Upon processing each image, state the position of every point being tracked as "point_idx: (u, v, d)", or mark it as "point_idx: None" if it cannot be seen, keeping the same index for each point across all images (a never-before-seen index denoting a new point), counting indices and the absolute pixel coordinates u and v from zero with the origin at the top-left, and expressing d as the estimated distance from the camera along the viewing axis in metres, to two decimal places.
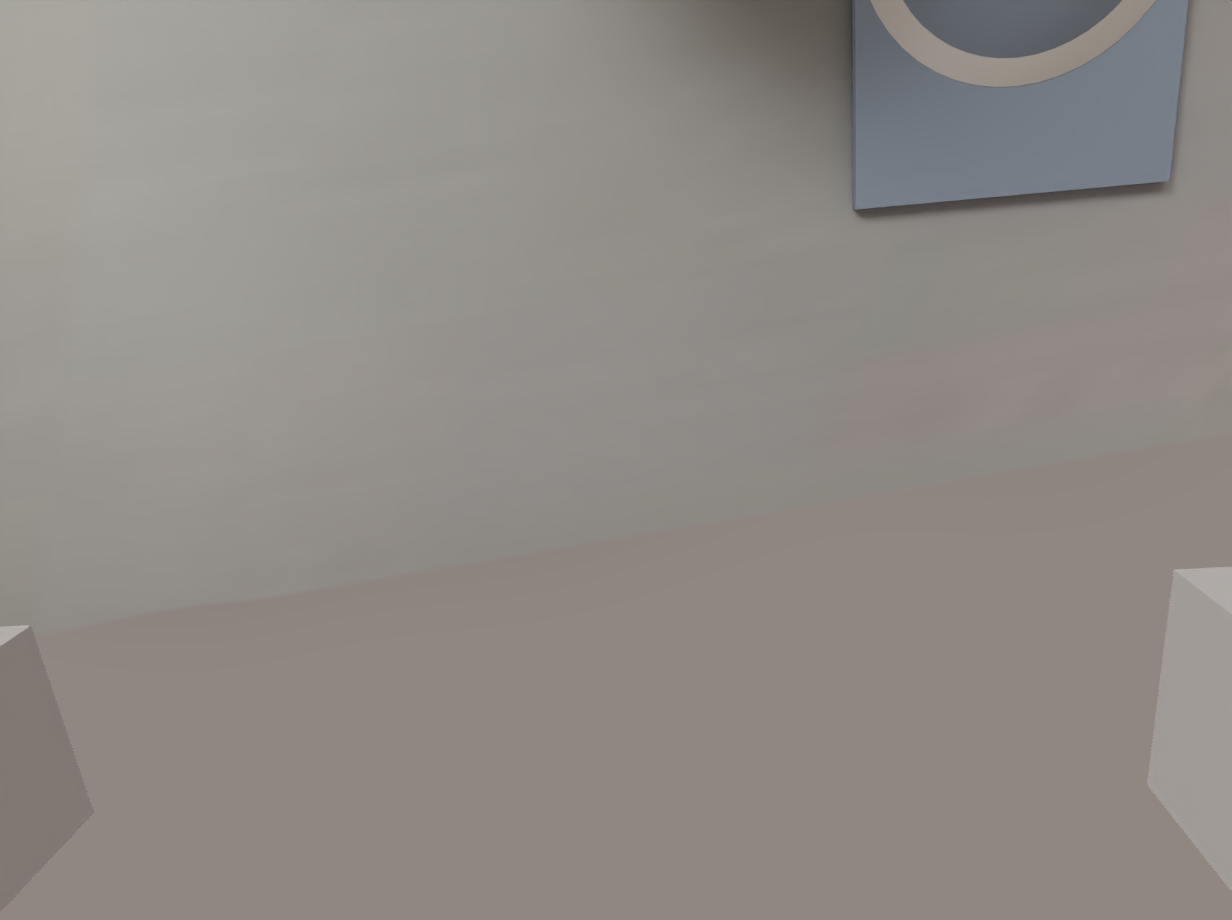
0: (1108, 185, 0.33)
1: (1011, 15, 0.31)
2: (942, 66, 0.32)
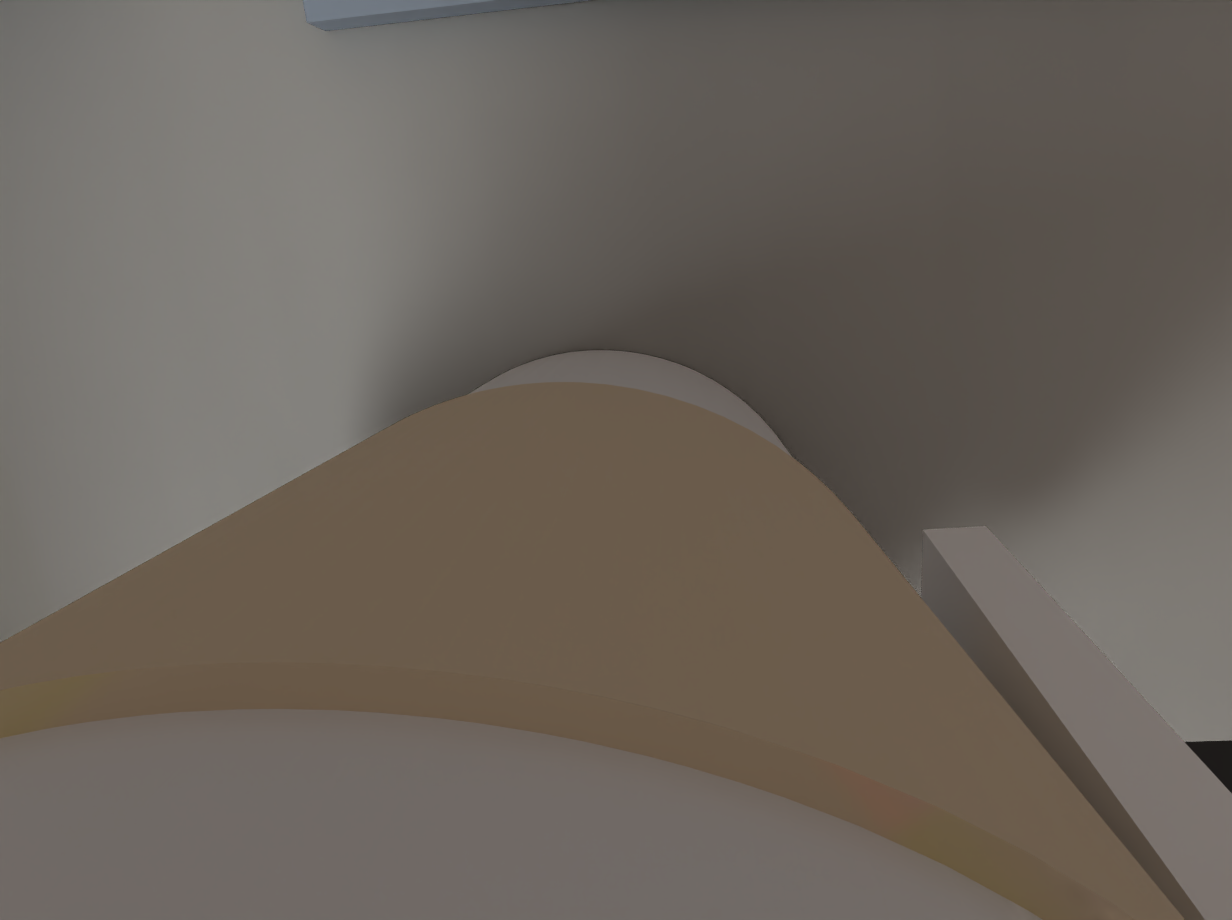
0: None
1: None
2: None
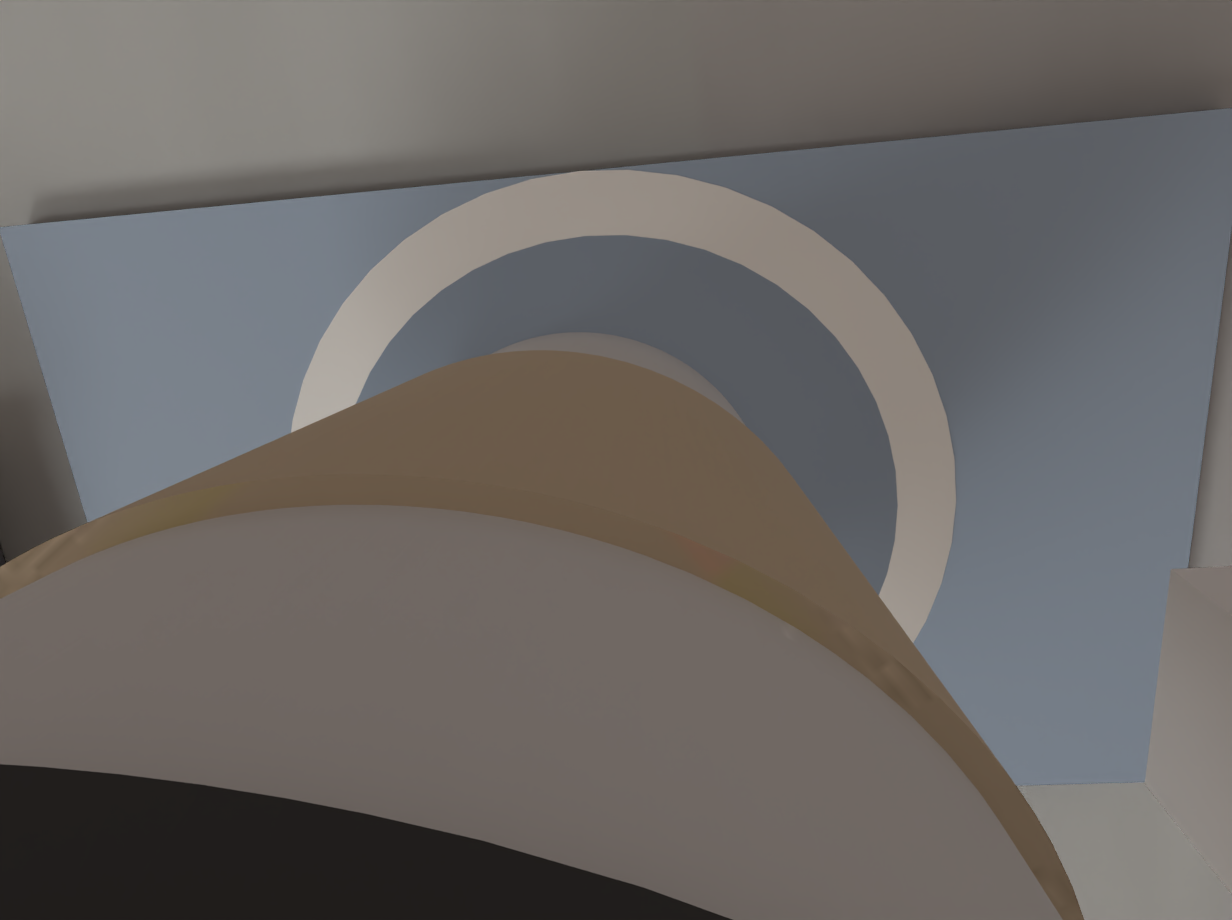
0: (1223, 263, 0.13)
1: None
2: None
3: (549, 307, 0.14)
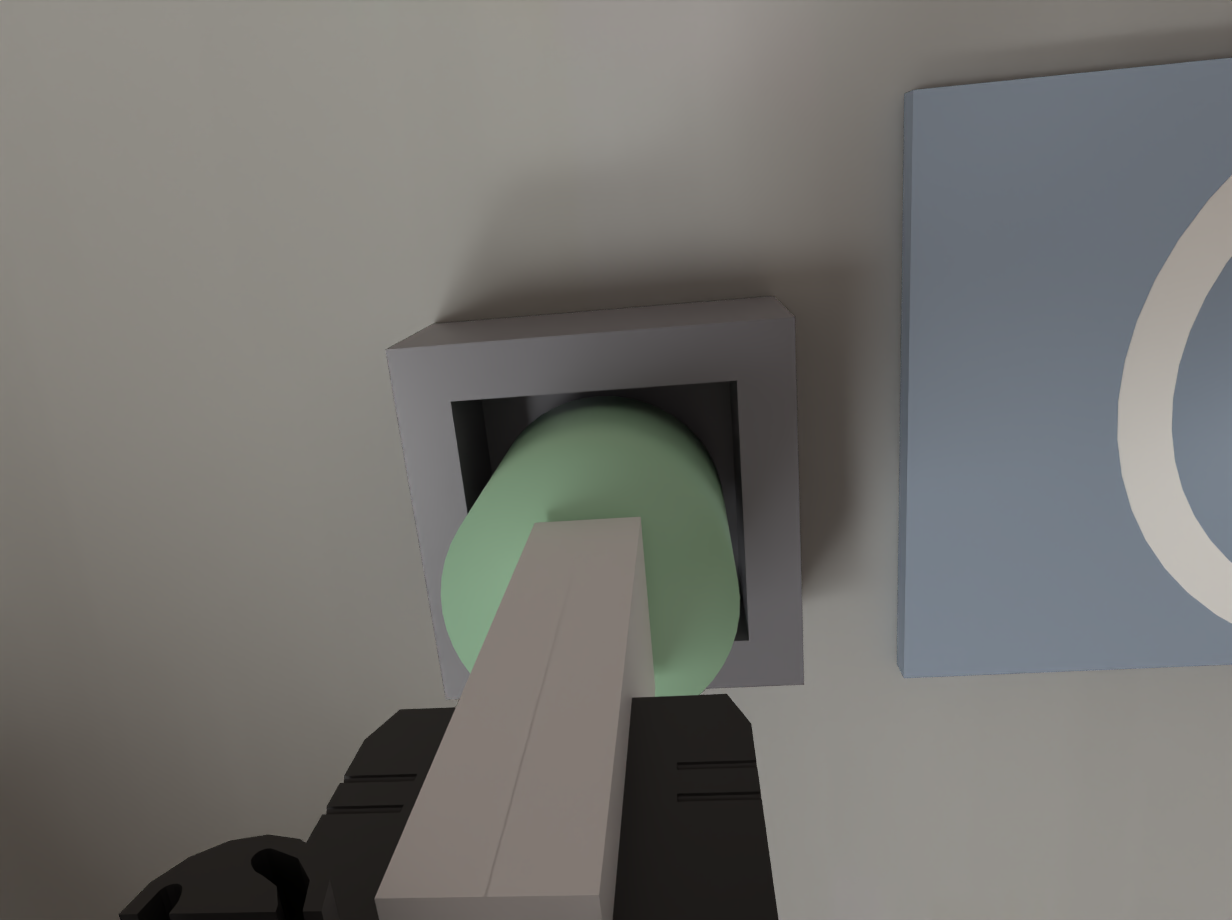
0: None
1: None
2: None
3: None
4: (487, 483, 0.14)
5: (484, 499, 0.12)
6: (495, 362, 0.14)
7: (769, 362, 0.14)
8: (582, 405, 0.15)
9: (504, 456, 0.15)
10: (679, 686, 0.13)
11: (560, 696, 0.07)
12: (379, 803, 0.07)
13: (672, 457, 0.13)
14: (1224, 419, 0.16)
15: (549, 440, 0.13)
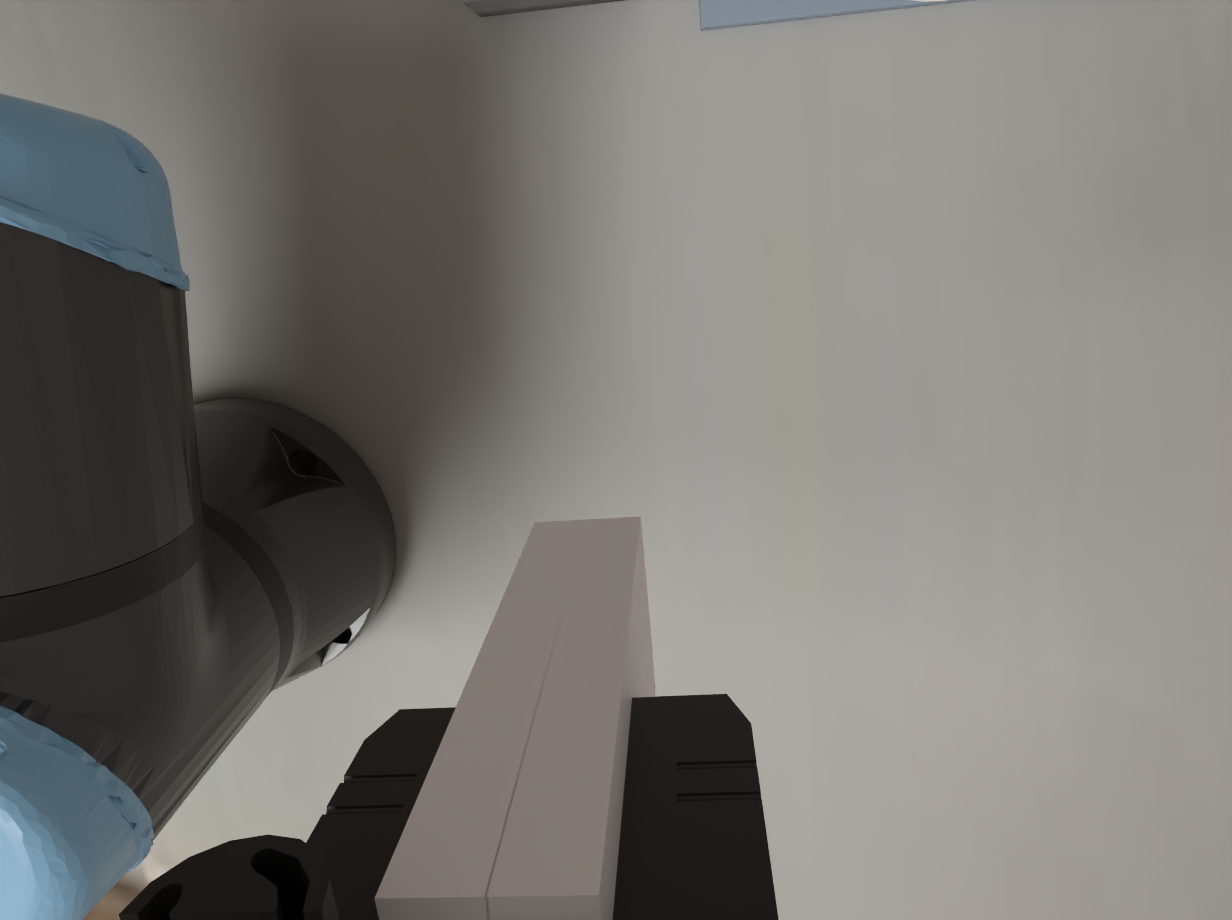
0: None
1: None
2: None
3: None
4: None
5: None
6: None
7: None
8: None
9: None
10: None
11: (561, 696, 0.07)
12: (378, 803, 0.07)
13: None
14: None
15: None
